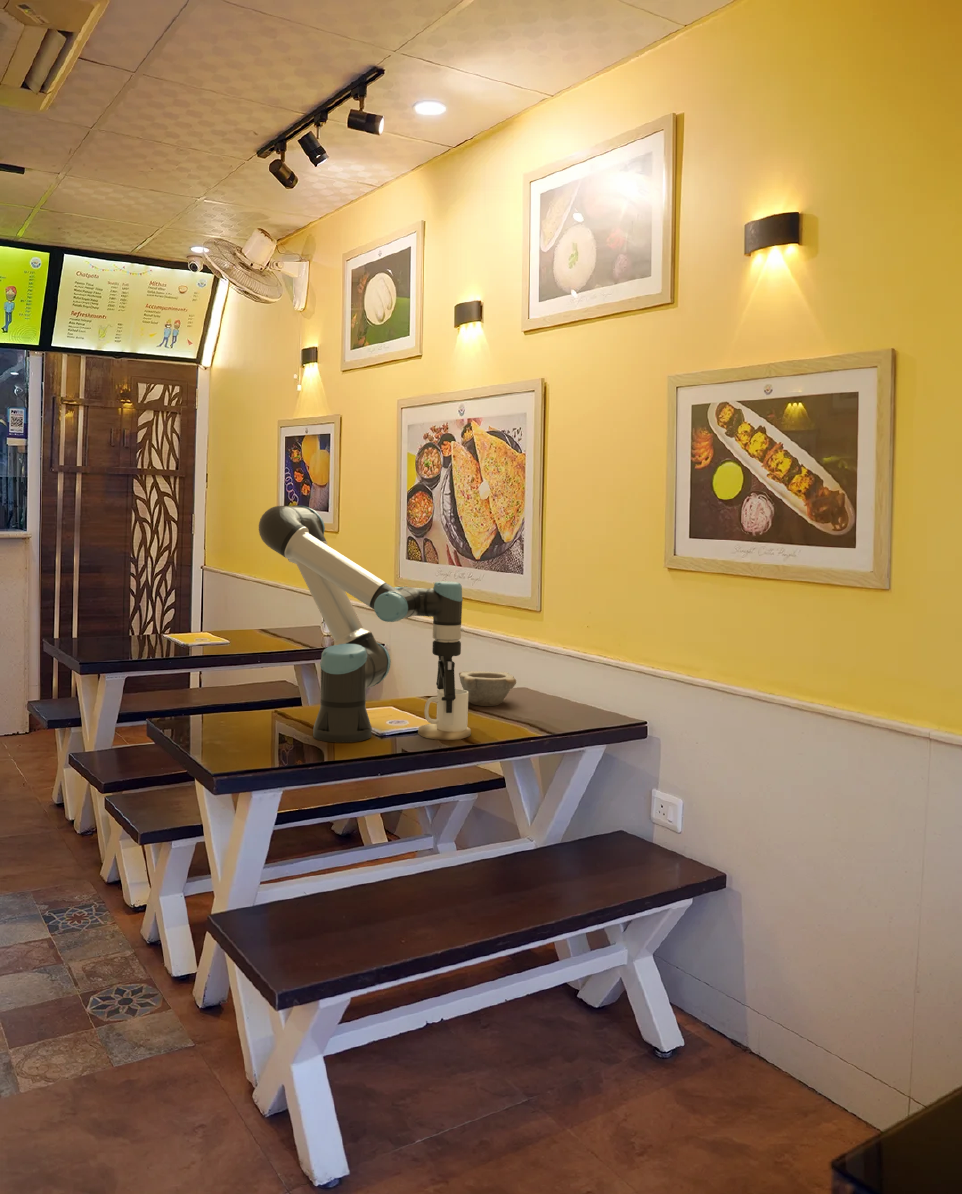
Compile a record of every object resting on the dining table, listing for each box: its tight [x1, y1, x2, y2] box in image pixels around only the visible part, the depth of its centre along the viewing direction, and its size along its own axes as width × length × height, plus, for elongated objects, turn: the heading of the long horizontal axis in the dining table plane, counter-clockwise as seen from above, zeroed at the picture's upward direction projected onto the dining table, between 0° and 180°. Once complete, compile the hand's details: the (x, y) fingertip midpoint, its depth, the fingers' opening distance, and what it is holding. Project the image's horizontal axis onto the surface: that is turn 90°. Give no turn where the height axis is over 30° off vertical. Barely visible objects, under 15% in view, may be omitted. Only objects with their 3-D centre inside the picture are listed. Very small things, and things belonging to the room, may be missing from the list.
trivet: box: [417, 723, 472, 741], centre depth 267 cm, size 14×14×1 cm
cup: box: [423, 688, 469, 732], centre depth 266 cm, size 8×12×10 cm
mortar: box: [458, 670, 517, 707], centre depth 309 cm, size 17×17×9 cm
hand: (444, 719), depth 267 cm, fingers open, 13 cm apart
